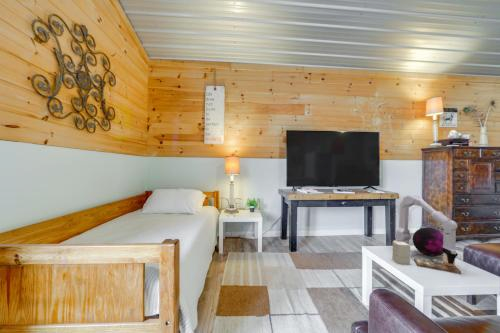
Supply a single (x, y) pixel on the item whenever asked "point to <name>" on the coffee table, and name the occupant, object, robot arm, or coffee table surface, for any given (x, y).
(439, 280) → the coffee table surface
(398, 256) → the supplement box
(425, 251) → the decorative sphere
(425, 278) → the coffee table surface
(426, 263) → the pin board
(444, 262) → the sleeve
